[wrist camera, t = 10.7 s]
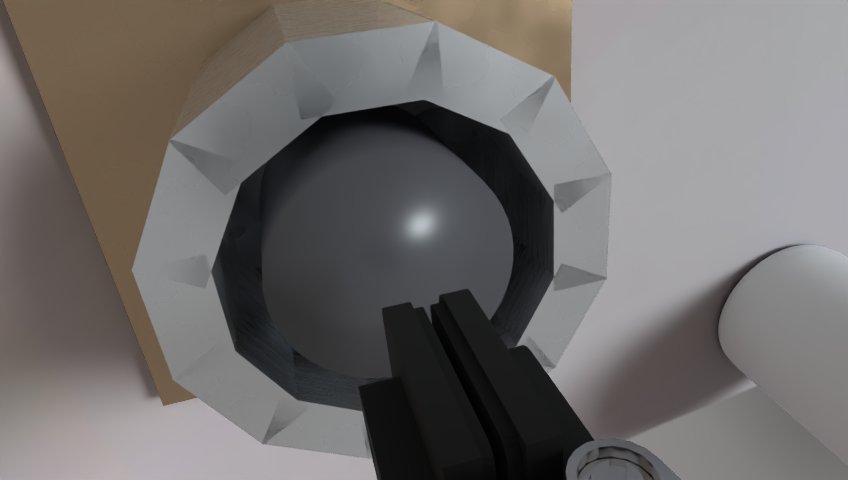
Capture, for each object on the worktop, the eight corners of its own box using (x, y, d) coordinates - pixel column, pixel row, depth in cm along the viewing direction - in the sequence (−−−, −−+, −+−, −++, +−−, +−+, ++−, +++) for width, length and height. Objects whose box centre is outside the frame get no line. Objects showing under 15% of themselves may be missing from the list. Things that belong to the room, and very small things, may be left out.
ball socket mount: (-21, -94, 17) (-307, -141, 8) (559, -148, 20) (792, -222, 12) (166, 390, 25) (121, 621, 17) (558, 296, 28) (692, 449, 20)
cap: (237, 120, 16) (231, 180, 12) (444, 84, 18) (507, 127, 13) (284, 301, 19) (293, 403, 15) (461, 260, 20) (518, 345, 16)
